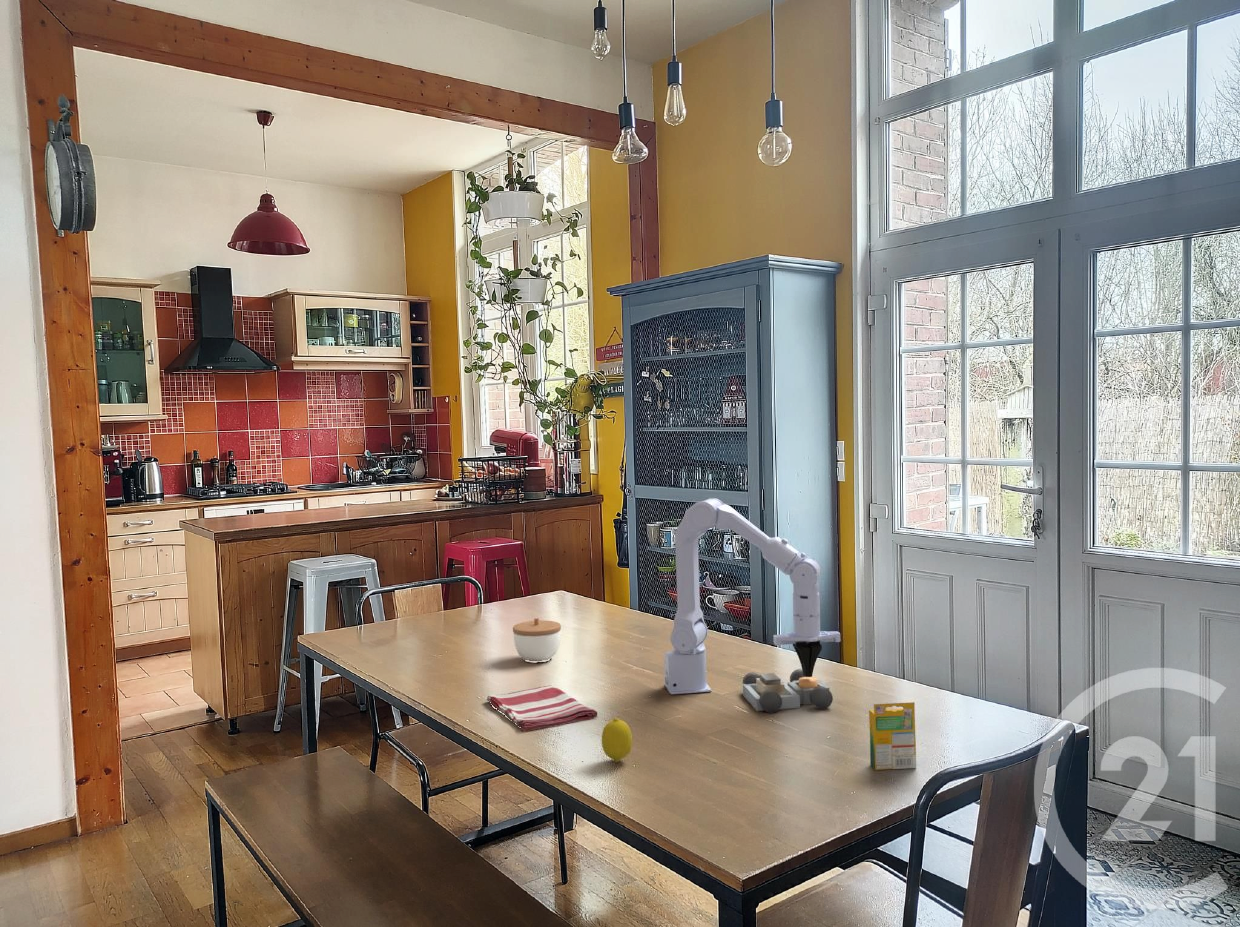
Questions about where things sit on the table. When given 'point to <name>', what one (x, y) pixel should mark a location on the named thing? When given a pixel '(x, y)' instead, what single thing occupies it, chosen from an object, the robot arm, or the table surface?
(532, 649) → the lidded bowl
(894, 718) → the crayon box
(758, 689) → the two-tone stepped block
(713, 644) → the table surface
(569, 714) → the dish towel
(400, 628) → the table surface
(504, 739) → the table surface
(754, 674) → the frame
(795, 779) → the table surface
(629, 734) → the lemon
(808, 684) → the orange rounded peg
